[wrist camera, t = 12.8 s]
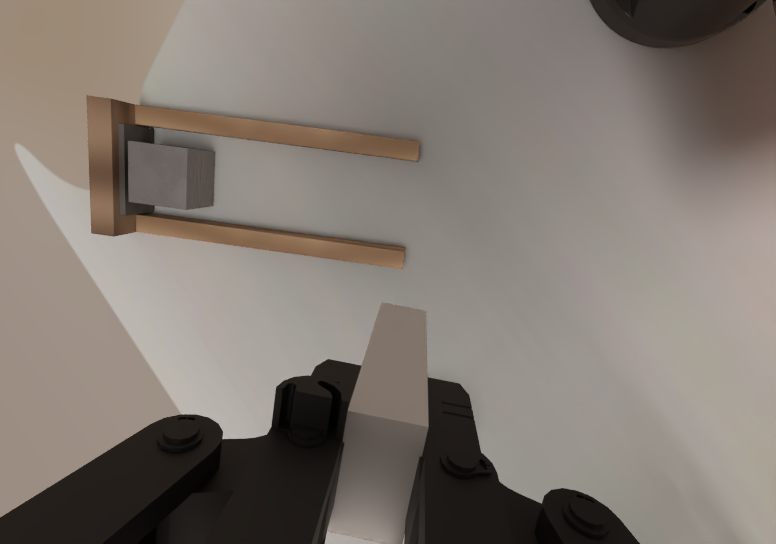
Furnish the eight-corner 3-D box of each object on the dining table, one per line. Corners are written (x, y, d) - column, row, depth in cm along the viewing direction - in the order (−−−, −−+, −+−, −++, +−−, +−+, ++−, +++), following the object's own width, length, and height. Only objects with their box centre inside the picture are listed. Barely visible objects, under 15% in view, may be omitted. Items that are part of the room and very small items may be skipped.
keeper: (163, 144, 40) (127, 140, 35) (215, 151, 39) (187, 148, 34) (162, 198, 41) (128, 201, 36) (213, 205, 40) (186, 209, 36)
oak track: (127, 105, 39) (86, 95, 34) (420, 143, 38) (420, 138, 33) (129, 226, 41) (91, 233, 37) (403, 264, 40) (401, 276, 36)
